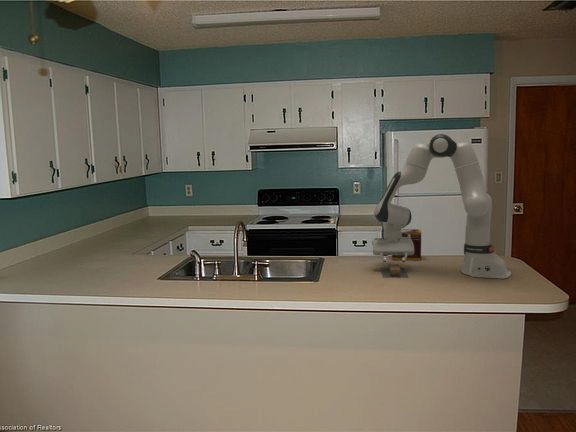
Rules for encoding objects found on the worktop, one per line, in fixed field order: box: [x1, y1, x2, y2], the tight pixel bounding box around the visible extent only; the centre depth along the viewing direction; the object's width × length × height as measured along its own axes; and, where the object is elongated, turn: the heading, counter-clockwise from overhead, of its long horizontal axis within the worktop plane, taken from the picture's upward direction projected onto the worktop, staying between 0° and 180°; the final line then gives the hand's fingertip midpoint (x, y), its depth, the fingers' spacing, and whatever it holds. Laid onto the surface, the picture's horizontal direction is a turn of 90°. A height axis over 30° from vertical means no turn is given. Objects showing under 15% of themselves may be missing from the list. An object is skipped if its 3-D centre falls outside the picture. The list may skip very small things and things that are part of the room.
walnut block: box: [388, 264, 401, 277], centre depth 251 cm, size 4×4×10 cm
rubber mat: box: [380, 266, 409, 279], centre depth 254 cm, size 20×12×1 cm, turn 173°
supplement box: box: [391, 228, 422, 262], centre depth 284 cm, size 10×15×16 cm
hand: (394, 261), depth 253 cm, fingers open, 8 cm apart
